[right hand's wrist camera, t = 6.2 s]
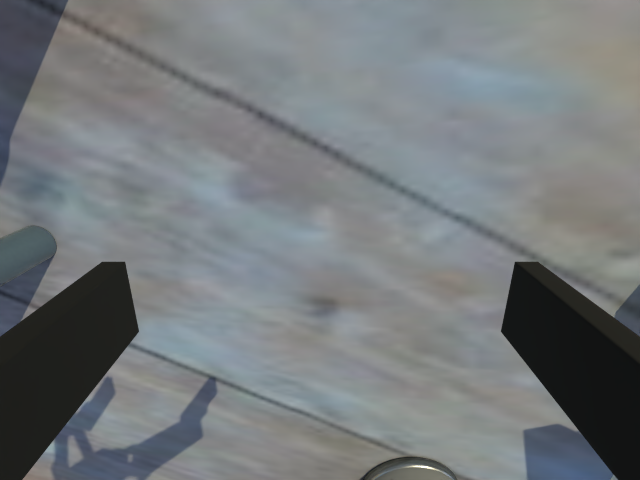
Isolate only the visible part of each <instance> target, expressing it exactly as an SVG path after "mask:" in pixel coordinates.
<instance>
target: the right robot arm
mask: <svg viewBox="0 0 640 480" xmlns="http://www.w3.org/2000/svg"><path fill="white" fill-rule="evenodd" d="M138 332H139V329H138V324H137V319H136V314H135V309H134V304H133V299H132V294H131V289H130V284H129V279H128V275H127V270H126V265H125V262H101V263H100V264H99V265H97V266H96V267H95V268H93V269H92V270H90V271H89V272H88V273H86V274H85V275H84V276H82V277H81V278H80V279H78V280H77V281H75V282H74V283H73V284H71V285H70V286H69V287H67V288H66V289H65V290H63V291H62V292H61V293H59V294H58V295H56V296H55V297H54V298H52V299H51V300H50V301H48V302H47V303H46V304H44V305H43V306H41V307H40V308H39V309H37V310H36V311H35V312H33V313H32V314H31V315H29V316H28V317H26V318H25V319H24V320H22V321H21V322H20V323H18V324H17V325H16V326H14V327H13V328H12V329H10V330H9V331H7V332H6V333H5V334H3V335H2V336H1V337H0V480H22V479H23V478H24V477H25V476H26V474H27V473H28V472H29V470H30V469H31V468H32V467H33V465H34V464H35V463H36V462H37V460H38V459H39V458H40V456H41V455H42V454H43V453H44V451H45V450H46V449H47V448H48V446H49V445H50V444H51V443H52V441H53V440H54V439H55V437H56V436H57V435H58V434H59V432H60V431H61V430H62V429H63V427H64V426H65V425H66V423H67V422H68V421H69V420H70V418H71V417H72V416H73V415H74V413H75V412H76V411H77V410H78V408H79V407H80V406H81V404H82V403H83V402H84V401H85V399H86V398H87V397H88V396H89V394H90V393H91V392H92V391H93V389H94V388H95V387H96V385H97V384H98V383H99V382H100V380H101V379H102V378H103V377H104V375H105V374H106V373H107V371H108V370H109V369H110V368H111V366H112V365H113V364H114V363H115V361H116V360H117V359H118V358H119V356H120V355H121V354H122V352H123V351H124V350H125V349H126V347H127V346H128V345H129V344H130V342H131V341H132V340H133V338H134V337H135V336H136V335H137V333H138ZM501 332H502V333H503V335H504V336H505V337H506V338H507V340H508V341H509V342H510V344H511V345H512V346H513V347H514V349H515V350H516V351H517V352H518V354H519V355H520V356H521V358H522V359H523V360H524V361H525V363H526V364H527V365H528V366H529V368H530V369H531V370H532V371H533V373H534V374H535V375H536V377H537V378H538V379H539V380H540V382H541V383H542V384H543V385H544V387H545V388H546V389H547V391H548V392H549V393H550V394H551V396H552V397H553V398H554V399H555V401H556V402H557V403H558V404H559V406H560V407H561V408H562V410H563V411H564V412H565V413H566V415H567V416H568V417H569V418H570V420H571V421H572V422H573V423H574V425H575V426H576V427H577V429H578V430H579V431H580V432H581V434H582V435H583V436H584V437H585V439H586V440H587V441H588V443H589V444H590V445H591V446H592V448H593V449H594V450H595V451H596V453H597V454H598V455H599V456H600V458H601V459H602V460H603V462H604V463H605V464H606V465H607V467H608V468H609V469H610V470H611V472H612V473H613V474H614V476H615V477H616V478H617V479H618V480H640V337H639V336H638V335H637V334H635V333H634V332H633V331H631V330H630V329H628V328H627V327H626V326H624V325H623V324H622V323H620V322H619V321H618V320H616V319H615V318H614V317H612V316H611V315H609V314H608V313H607V312H605V311H604V310H603V309H601V308H600V307H599V306H597V305H596V304H594V303H593V302H592V301H590V300H589V299H588V298H586V297H585V296H584V295H582V294H581V293H579V292H578V291H577V290H575V289H574V288H573V287H571V286H570V285H569V284H567V283H566V282H565V281H563V280H562V279H560V278H559V277H558V276H556V275H555V274H554V273H552V272H551V271H550V270H548V269H547V268H545V267H544V266H543V265H541V264H540V263H539V262H515V265H514V270H513V275H512V279H511V284H510V289H509V294H508V299H507V304H506V309H505V314H504V319H503V324H502V329H501ZM363 480H457V478H456V477H455V475H454V474H453V473H452V471H451V470H449V469H448V468H447V467H446V466H444V465H442V464H441V463H439V462H436V461H433V460H430V459H426V458H418V457H407V458H400V459H395V460H391V461H388V462H386V463H383V464H381V465H379V466H378V467H376V468H374V469H373V470H372V471H370V472H369V473H368V474H367V475H366V476H365V478H364V479H363Z"/></svg>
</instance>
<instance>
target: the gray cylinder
mask: <svg viewBox="0 0 640 480" xmlns="http://www.w3.org/2000/svg"><path fill="white" fill-rule="evenodd" d="M55 252H56V242H55V239H54V238H53V236H52V235H51V234H50V233H49V232H48V231H47V230H45V229H44V228H41V227H38V226H27V227H25V228H22V229H20V230H18V231H15V232H13V233H11V234H8V235H6V236H4V237H1V238H0V287H1V286H3V285H5V284H6V283H8V282H10V281H11V280H13V279H15V278H17V277H18V276H20V275H22V274H24V273H25V272H27V271H29V270H30V269H32V268H34V267H36V266H37V265H39V264H41V263H43V262H44V261H46V260H48V259H49V258H51V257H52V256H53V255H54V254H55Z"/></svg>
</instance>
